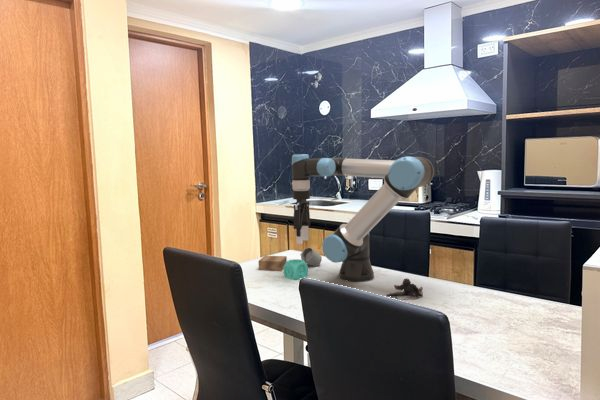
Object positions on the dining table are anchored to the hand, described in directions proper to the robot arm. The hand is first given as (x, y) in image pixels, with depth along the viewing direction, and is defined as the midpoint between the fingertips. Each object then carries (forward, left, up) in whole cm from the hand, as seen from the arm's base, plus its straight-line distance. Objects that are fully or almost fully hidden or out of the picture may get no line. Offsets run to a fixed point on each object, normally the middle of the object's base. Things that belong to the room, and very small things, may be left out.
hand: (302, 241), depth 188 cm
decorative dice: (+4, -1, -17) cm, 18 cm away
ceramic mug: (+5, -23, -17) cm, 29 cm away
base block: (+20, -12, -17) cm, 29 cm away
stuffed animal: (-48, +6, -19) cm, 52 cm away
